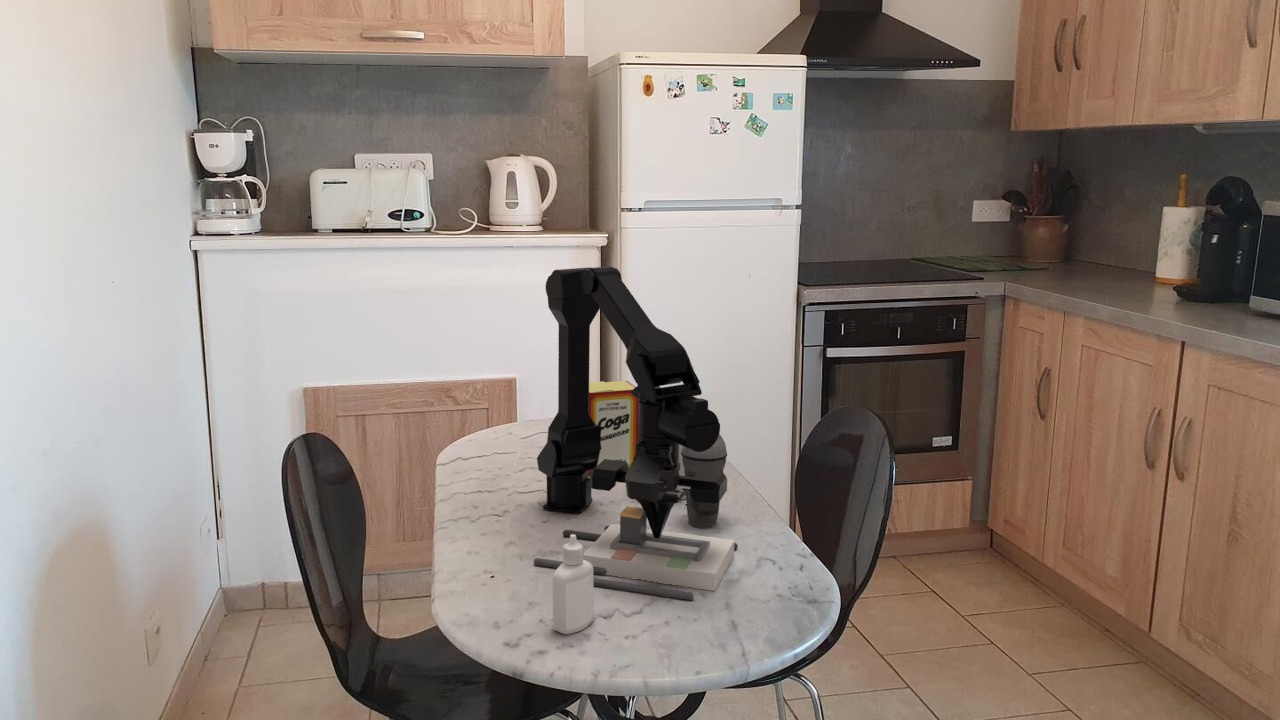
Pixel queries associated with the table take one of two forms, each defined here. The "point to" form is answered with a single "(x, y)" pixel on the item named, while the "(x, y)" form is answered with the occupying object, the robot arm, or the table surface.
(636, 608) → the table surface
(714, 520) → the beverage cup
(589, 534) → the rod
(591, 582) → the eye dropper bottle
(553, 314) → the robot arm
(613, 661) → the table surface
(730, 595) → the table surface
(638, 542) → the breaker toggle
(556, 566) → the rod
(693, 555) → the breaker switch base
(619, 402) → the baking soda box
